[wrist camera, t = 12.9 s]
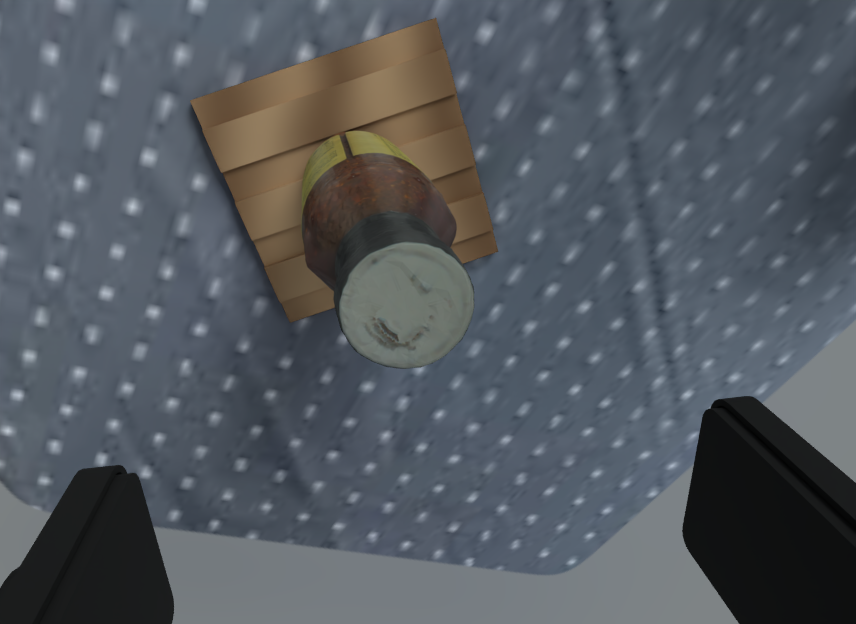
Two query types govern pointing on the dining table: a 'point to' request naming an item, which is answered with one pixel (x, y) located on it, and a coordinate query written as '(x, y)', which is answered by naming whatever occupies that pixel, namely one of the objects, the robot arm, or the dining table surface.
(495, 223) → the dining table surface
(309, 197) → the sauce bottle
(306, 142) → the trivet
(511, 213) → the dining table surface
